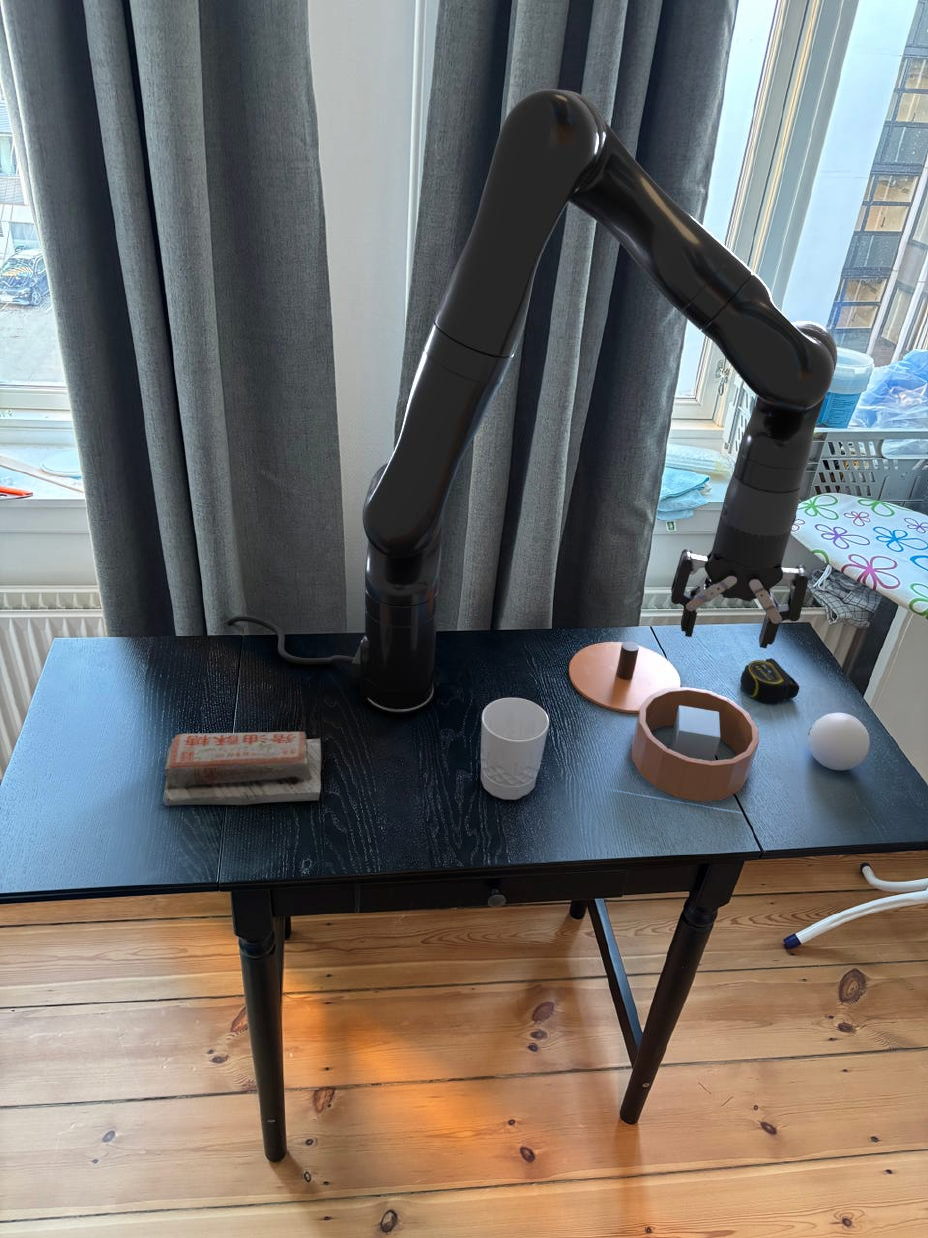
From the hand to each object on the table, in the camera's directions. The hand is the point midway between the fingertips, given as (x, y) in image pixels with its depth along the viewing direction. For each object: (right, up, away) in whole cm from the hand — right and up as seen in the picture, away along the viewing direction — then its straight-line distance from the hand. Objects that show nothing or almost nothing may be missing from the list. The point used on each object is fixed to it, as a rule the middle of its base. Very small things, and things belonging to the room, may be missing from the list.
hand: (724, 638), depth 112 cm
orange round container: (-2, -16, +11) cm, 19 cm away
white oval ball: (+17, -16, +14) cm, 27 cm away
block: (-2, -16, +10) cm, 19 cm away
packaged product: (-57, -17, +4) cm, 59 cm away
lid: (-8, -6, +24) cm, 26 cm away
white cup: (-25, -18, +6) cm, 31 cm away
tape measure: (+12, -8, +24) cm, 28 cm away
